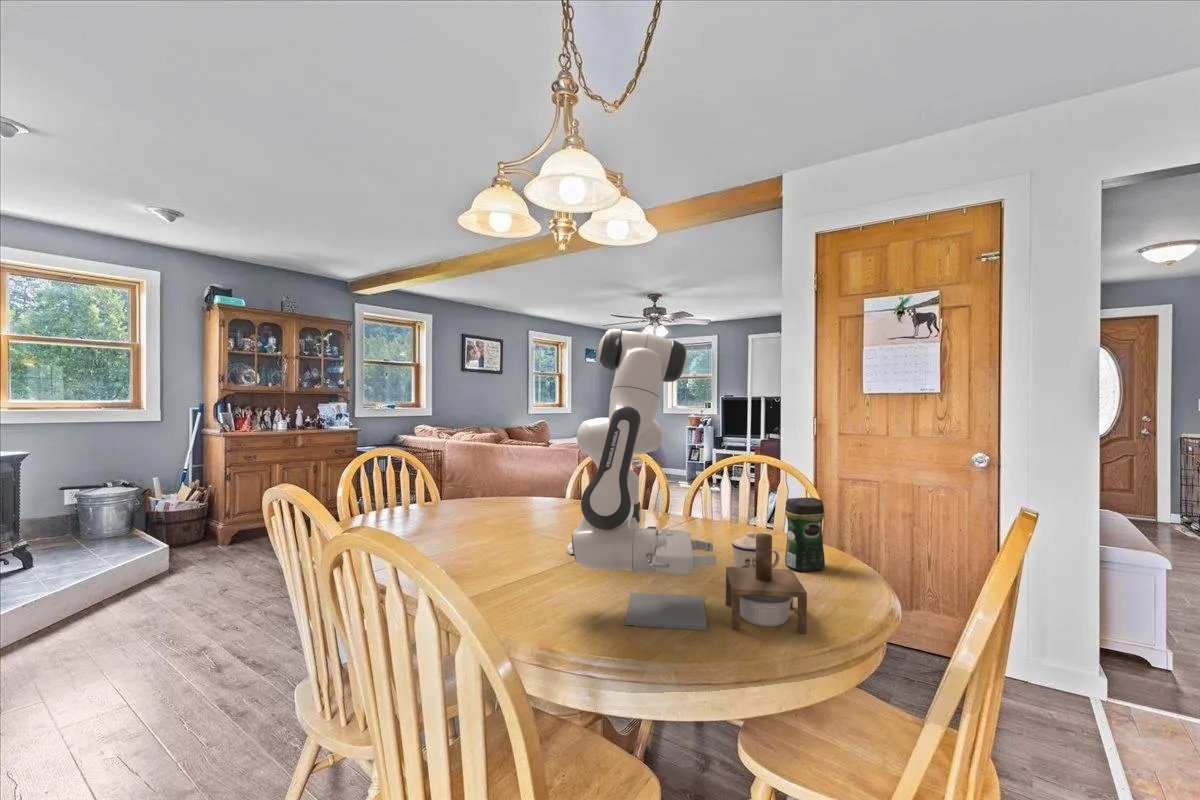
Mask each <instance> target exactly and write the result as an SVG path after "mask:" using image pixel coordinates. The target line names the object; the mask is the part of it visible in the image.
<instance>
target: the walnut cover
mask: <svg viewBox="0 0 1200 800" xmlns="http://www.w3.org/2000/svg"><path fill="white" fill-rule="evenodd" d="M755 536H756V568H744V567H733V566H725V604H726V606H731V630H732V631H740V630H741V629H740V627H741V615H740V595H760V596H780V597H792V602H791V604H790V610H791V609H792V610H793V609H794V608H793V606H794V605H793V602H794V600H793V599H794V598H797V632H798V634H799V635H800V634H801V635H802V634H803V635H804V634H805V635H806V634H808V633H807V632H808V630H807V629H808V627H807V626H808V625H807V624H808V619H807V618H808V617H807V616H808V612H807V611H808V592H807V591H806V589H805V587H804V586H803V584H802V583H801V582H800V580H799V578H798V577H797V575H796V574H795V572H794V571H793V569H791V568H787V569H786V568H773V569H772V564H773V552H772V549H773V535H772V534H769V533H760V532H759V533H755Z"/></svg>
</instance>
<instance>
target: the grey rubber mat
mask: <svg viewBox="0 0 1200 800" xmlns="http://www.w3.org/2000/svg"><path fill="white" fill-rule="evenodd" d="M706 618H707V617H706V610H705V605H704V597H703V596H702V595H683V594H681V595H680V594H664V593H662V594H661V593H659V594H658V593H645V592H643V593H642V592H630V597H629V601H628V607H627V611H626V617H625V621H624V626H625V625H634V626H633V627H641V628H642V627H643V628H660V629H661V628H663V629H678V630H692V631H693V630H696V631H707V630H708V626H707V619H706Z"/></svg>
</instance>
